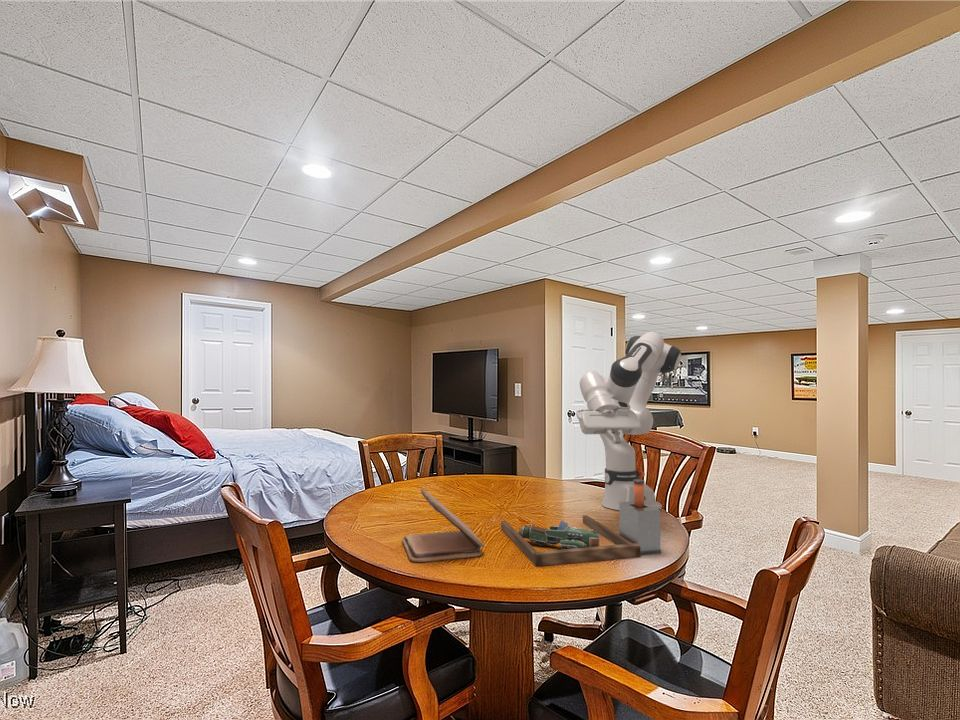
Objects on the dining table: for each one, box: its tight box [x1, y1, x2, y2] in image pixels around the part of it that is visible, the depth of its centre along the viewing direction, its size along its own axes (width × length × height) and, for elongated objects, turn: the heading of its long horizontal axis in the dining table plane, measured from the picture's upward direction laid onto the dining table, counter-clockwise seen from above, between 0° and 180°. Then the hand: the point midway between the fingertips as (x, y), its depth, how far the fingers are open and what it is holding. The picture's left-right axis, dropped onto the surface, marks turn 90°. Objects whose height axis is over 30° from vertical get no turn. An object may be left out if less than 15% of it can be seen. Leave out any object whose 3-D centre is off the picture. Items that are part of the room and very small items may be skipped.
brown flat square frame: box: [500, 514, 642, 567], centre depth 145 cm, size 30×32×3 cm
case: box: [401, 488, 485, 563], centre depth 140 cm, size 20×21×16 cm
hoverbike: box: [517, 519, 601, 550], centre depth 140 cm, size 10×25×8 cm, turn 63°
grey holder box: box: [618, 502, 662, 556], centre depth 140 cm, size 7×10×12 cm
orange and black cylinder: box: [633, 479, 646, 508], centre depth 141 cm, size 3×3×8 cm
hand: (618, 442), depth 152 cm, fingers closed
